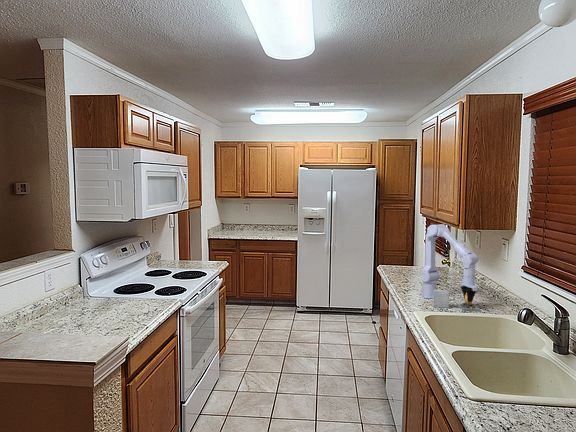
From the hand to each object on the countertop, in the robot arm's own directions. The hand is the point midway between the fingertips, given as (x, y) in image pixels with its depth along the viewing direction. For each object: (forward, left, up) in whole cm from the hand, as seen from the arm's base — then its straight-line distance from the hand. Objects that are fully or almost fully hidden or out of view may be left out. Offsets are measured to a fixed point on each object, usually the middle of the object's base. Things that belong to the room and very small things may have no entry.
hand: (468, 300), depth 211 cm
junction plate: (0, 0, -4) cm, 4 cm away
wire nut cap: (0, 0, -2) cm, 2 cm away
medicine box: (-2, -14, -4) cm, 15 cm away
